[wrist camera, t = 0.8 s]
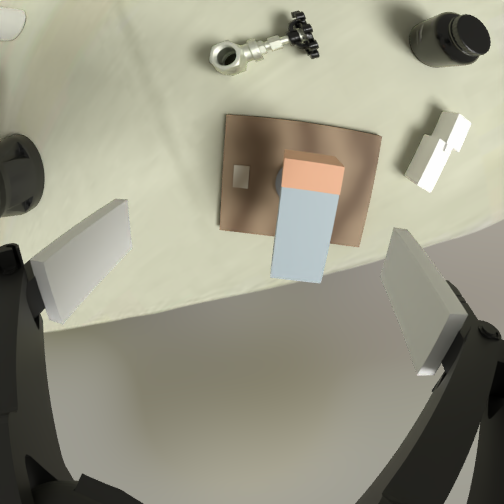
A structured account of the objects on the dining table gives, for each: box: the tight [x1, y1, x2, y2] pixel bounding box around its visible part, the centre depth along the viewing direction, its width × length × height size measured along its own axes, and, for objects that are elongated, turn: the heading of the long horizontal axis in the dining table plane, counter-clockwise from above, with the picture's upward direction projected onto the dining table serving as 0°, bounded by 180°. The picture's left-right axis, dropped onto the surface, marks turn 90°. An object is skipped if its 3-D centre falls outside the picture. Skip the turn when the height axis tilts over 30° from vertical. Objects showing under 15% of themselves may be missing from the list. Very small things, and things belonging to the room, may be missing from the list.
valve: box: [209, 11, 319, 76], centre depth 30 cm, size 7×7×12 cm
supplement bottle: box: [410, 12, 491, 68], centre depth 23 cm, size 7×7×12 cm
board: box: [220, 115, 382, 247], centre depth 36 cm, size 20×16×9 cm
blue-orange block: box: [270, 149, 345, 283], centre depth 29 cm, size 5×11×6 cm, turn 175°
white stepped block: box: [404, 111, 472, 193], centre depth 33 cm, size 15×11×6 cm
